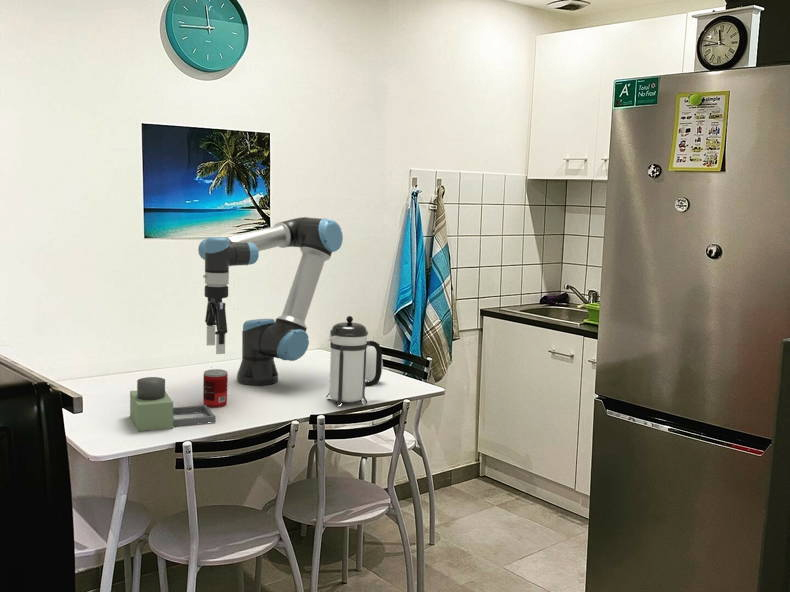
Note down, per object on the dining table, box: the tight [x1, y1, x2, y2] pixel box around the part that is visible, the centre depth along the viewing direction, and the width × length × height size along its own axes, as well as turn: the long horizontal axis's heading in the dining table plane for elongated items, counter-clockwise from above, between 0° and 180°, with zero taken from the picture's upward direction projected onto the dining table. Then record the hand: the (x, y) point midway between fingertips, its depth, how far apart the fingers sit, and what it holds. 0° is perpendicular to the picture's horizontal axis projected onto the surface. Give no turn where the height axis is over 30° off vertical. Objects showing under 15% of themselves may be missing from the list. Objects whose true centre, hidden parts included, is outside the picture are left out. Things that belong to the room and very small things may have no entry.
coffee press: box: [325, 315, 383, 406], centre depth 264 cm, size 17×16×30 cm
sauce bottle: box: [365, 336, 384, 382], centre depth 291 cm, size 8×8×18 cm
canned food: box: [202, 368, 228, 408], centre depth 255 cm, size 8×8×11 cm
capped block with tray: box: [129, 376, 217, 432], centre depth 236 cm, size 23×16×13 cm
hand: (215, 349), depth 253 cm, fingers open, 13 cm apart
